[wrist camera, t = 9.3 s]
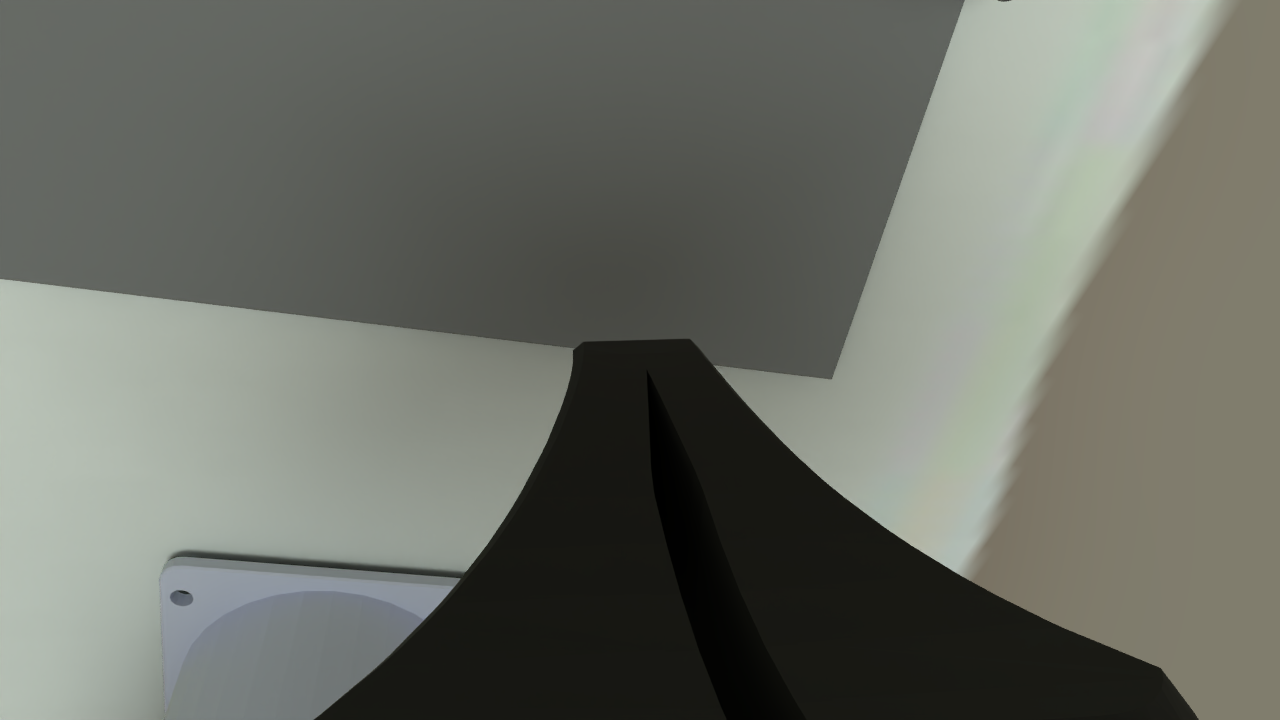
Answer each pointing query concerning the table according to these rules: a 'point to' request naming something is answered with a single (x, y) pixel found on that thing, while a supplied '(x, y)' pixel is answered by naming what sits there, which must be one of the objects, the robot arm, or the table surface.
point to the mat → (472, 161)
